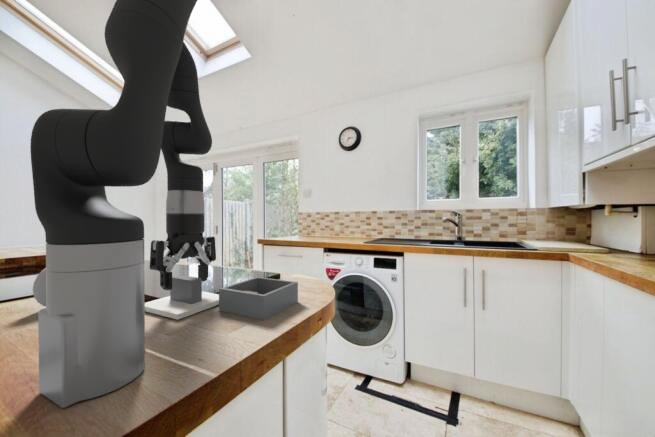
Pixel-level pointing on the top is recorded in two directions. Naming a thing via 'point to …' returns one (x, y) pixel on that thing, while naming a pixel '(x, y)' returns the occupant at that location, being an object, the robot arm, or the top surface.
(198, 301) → the lid
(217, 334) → the top surface
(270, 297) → the box
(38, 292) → the donut
